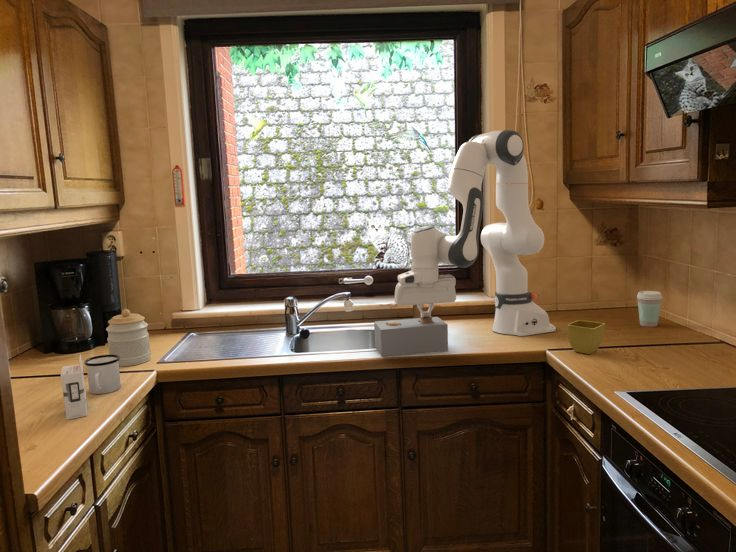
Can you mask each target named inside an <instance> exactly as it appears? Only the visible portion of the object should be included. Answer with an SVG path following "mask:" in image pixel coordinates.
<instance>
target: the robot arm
mask: <svg viewBox="0 0 736 552" xmlns="http://www.w3.org/2000/svg"><path fill="white" fill-rule="evenodd" d="M524 147H525V146H524V141H523V137H522V136H521V134H520V133H519V132H518V131H516V130H513V129H512V130H511V129H504V130H492V131H491V130H490V131H489V132H485V133H479V134H476V135H474V136H472V137H471V138H470V139H469V140H468V141H466V142H464V143H462V144H461V145H460V146H459V149H458V151H457V153H456V155H455V157H454V160H453V163H452V165H451V169H450V172H449V175H448V180H447V188H448V191H449V193H450V195H451V196H452V197H453V198H454V199H455V200H457V201H458V202H460V204H462V209H463V212H462V213H463V214H462V217H461V218H462V219H461V225H460V230H459V233H458V234H457V235H452V234H447V233H445V232H443V231H441V230H439V229H438V228H436V226H434V225H423V226H418V227H417V228H415V229H413V230H412V233H411V237H410V238H411V239H410V255H411V266H410V269H411V270H408V271H407V272H403V273H400V274H398V275H397V281H398V282H397V283H396V285H395V289H394V303H395V304H396V305H397V306H399V307H403V306H413V305H417V307H418V309H419V310H420V312H421V317H422V318H425V317H432V311H433V310H434V308H435V304H448V303H455V301H456V300H457V294H456V287H455V286H456V284H457V283H456V282H457V280H456V278H455V277H456V276H454V275H452V274H439V263H440V264H445V265H450V266H455V267H458V268H462V269H466V268H469V267H471V266H472V265H474V263H475V262H476V260H477V259H478V256H479V237H480V243H481V245H482V246H483V248H484V249H485V250H486V251H487V252H488V254H489V255H490V258H491V260H492V263H493V266H494V272H495V293H494V306H495V313H494V318H493V319H494V321H493V324H492V328H491V331H493V333H494V332H495V333H498V334H504V335H512V336H513V335H514V336H518V337H527V336H531V335H538V334H544V333H552V332H556V331H557V329H556V326H555V325H553V324H552V323H550V317H549V315H548V312H546V310H544V309H543V308H542V307H540V306H539V305H538V304H536V303H535V302H534V301H533V300H537V299H538V295H537V293H535V292H533V293H532V292H531V291H528V286H529V285H528V278H529V277H528V274H529V273H528V269H526V267H525V266H524V265H523V264H522V263H521V262H520V260H519V257H518V255H519V256H520V255H521V256H528V255H529V256H530V255H534V254H538V253H539V252H540V251H541V250H542V249H543V247H544V244H545V235H544V232H543V230H542V229H541V227H540V226H539V225H537V223H536V222H535V220H534V218H533V216H532V213H531V210H530V205H529V172H528V165H527V164H528V163H527V160H526V157H525V155H524V149H525V148H524ZM488 165H494V167H495V169H496V173H495V176H496V177H495V206H496V208H497V209H498V210H499V211H500V212H501V213H502V214H503V216H504V218H505V222H493V223H490V224H487V225H486V226H484V227H483V229H482V230H481V233H480V229H481V222H482V216H483V209H484V194H483V192H482V183H483V179H484V177H485V176H484V175H485V171H486V167H487V166H488ZM479 235H480V236H479ZM424 305H427V306H428V309H427V311H425V310H424ZM422 308H423V310H422Z"/></svg>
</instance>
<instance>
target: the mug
mask: <svg viewBox="0 0 736 552" xmlns="http://www.w3.org/2000/svg"><path fill="white" fill-rule="evenodd" d="M119 360H120V356H118V355H109V354H102V355H101V354H100V355H96V356H92V357H89V358H87V359H85V360H84V361H83V364H84V365H85V366H86V372H87V381H88V390H89V393H91V394H93V395H105V394H110V393H113V392H116V391H117V390H120V388H121V387H122V383H121V375H120V366H119V364H118V361H119Z"/></svg>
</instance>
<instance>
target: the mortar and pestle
mask: <svg viewBox="0 0 736 552" xmlns="http://www.w3.org/2000/svg"><path fill="white" fill-rule="evenodd" d="M422 310H423V311H424V307H423V308H422ZM420 317H421V312H420V310H419V309H418V307H417V305H412V319H415V318H420Z"/></svg>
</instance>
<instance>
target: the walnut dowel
mask: <svg viewBox="0 0 736 552" xmlns="http://www.w3.org/2000/svg"><path fill="white" fill-rule="evenodd" d="M432 317H433V316H431V317H425V318H422V317H420V323H421V324H425V323H432Z"/></svg>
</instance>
